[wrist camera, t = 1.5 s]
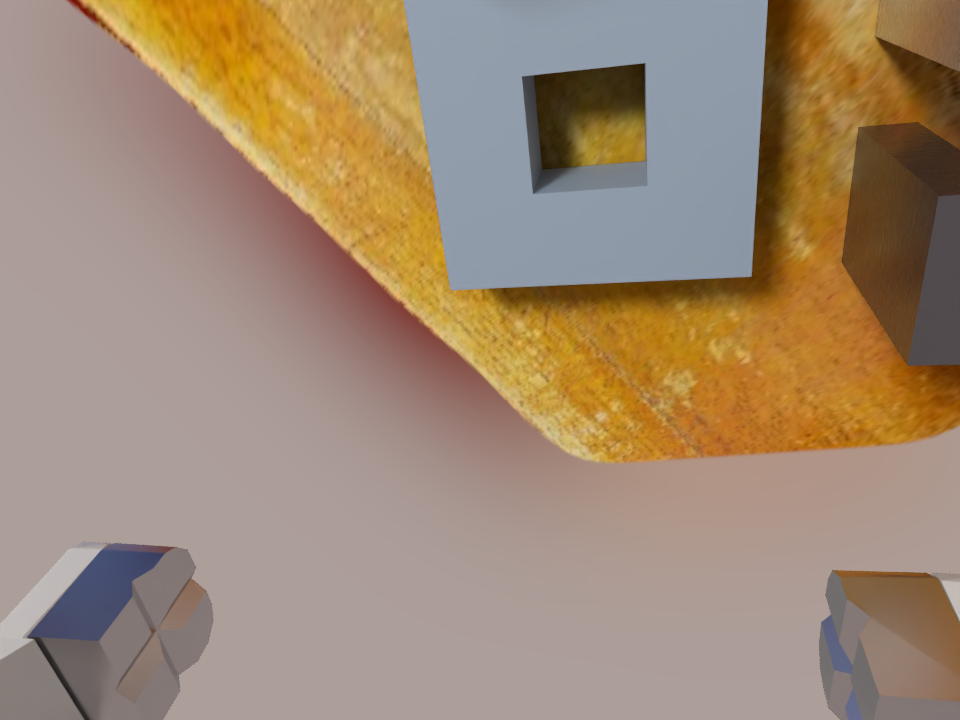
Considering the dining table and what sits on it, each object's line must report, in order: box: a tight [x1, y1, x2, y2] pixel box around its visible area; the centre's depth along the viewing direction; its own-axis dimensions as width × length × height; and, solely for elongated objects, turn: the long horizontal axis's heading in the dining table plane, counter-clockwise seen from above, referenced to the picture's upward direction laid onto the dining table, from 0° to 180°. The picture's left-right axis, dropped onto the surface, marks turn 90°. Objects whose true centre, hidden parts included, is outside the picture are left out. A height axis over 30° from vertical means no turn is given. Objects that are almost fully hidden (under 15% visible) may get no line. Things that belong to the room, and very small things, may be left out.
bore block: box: [404, 0, 768, 290], centre depth 32 cm, size 14×14×4 cm
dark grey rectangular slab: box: [842, 122, 960, 366], centre depth 30 cm, size 2×6×10 cm, turn 8°
